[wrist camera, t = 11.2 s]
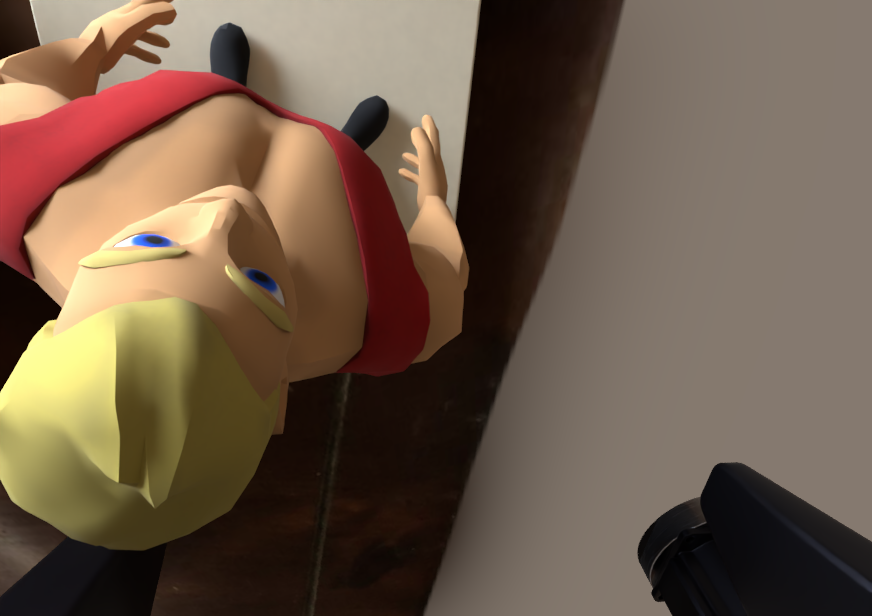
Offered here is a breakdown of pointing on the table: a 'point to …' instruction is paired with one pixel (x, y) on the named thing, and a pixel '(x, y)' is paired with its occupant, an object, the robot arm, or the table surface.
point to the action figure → (194, 275)
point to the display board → (324, 64)
